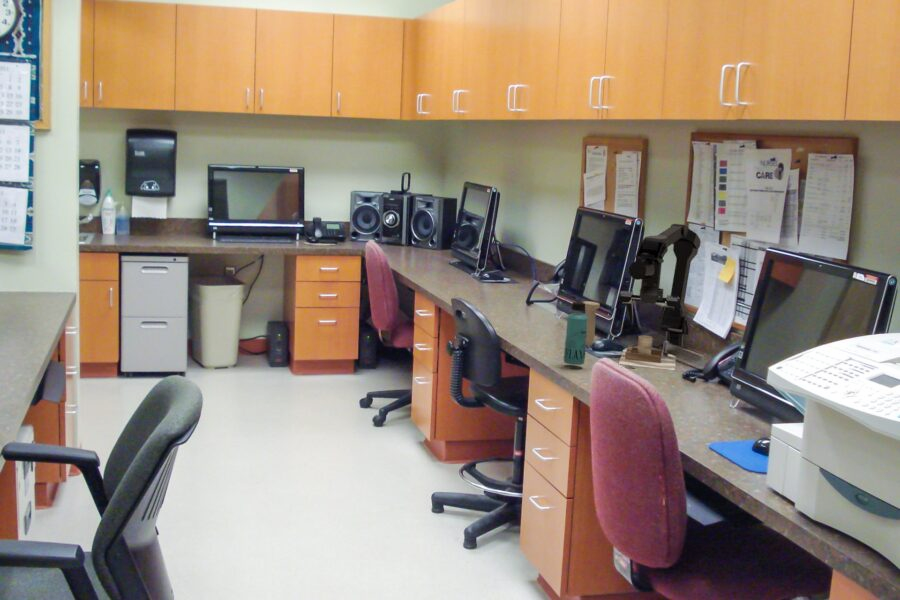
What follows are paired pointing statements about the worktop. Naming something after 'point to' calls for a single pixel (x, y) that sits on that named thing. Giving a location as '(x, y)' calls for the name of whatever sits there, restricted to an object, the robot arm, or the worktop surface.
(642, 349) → the pivot pin
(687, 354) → the bar
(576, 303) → the beverage bottle
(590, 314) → the handle
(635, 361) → the cradle
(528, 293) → the worktop surface
